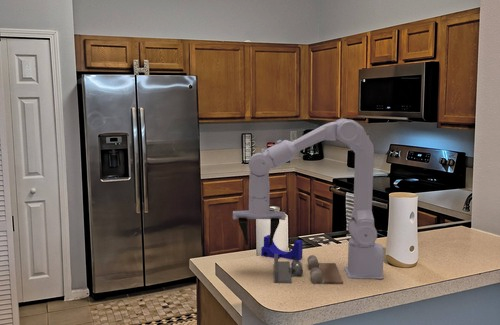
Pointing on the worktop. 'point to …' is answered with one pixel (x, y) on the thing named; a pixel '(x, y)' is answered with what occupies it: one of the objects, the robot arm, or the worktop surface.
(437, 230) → the worktop surface
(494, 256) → the worktop surface
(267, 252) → the blue u-shaped bracket
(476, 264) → the worktop surface
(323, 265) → the fixed leaf
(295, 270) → the metal hinge
